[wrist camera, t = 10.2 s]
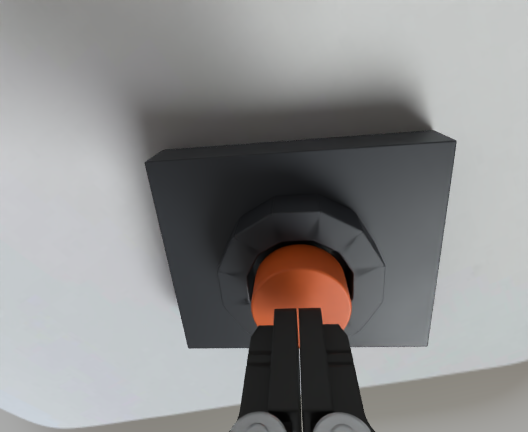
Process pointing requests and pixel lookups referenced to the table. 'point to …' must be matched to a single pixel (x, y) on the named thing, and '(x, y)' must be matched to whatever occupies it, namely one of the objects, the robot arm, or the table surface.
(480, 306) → the table surface
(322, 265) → the button
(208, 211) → the button block
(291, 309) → the robot arm
